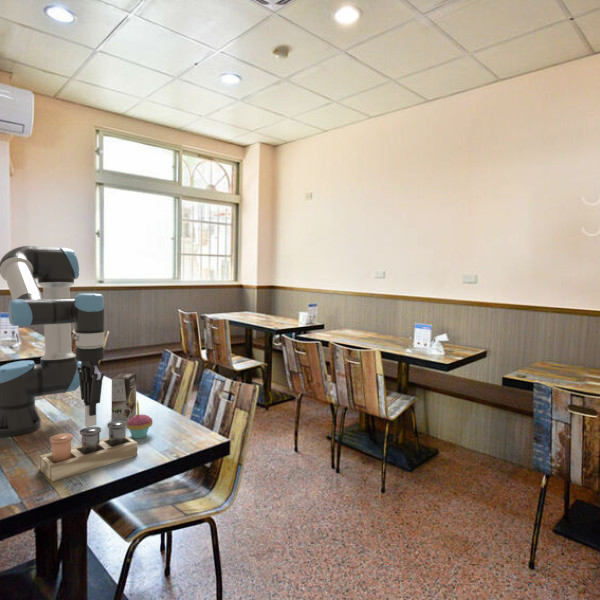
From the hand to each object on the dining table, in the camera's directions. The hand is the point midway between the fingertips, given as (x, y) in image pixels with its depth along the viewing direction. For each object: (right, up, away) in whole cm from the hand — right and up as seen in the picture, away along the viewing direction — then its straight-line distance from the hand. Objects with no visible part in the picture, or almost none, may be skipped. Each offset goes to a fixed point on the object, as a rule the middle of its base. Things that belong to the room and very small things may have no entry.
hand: (90, 425), depth 126 cm
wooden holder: (0, -11, +1) cm, 11 cm away
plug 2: (+5, -8, +7) cm, 11 cm away
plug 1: (0, -8, +1) cm, 8 cm away
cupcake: (+6, -10, +22) cm, 25 cm away
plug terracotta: (-6, -8, -5) cm, 11 cm away
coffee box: (-7, -8, +40) cm, 42 cm away
